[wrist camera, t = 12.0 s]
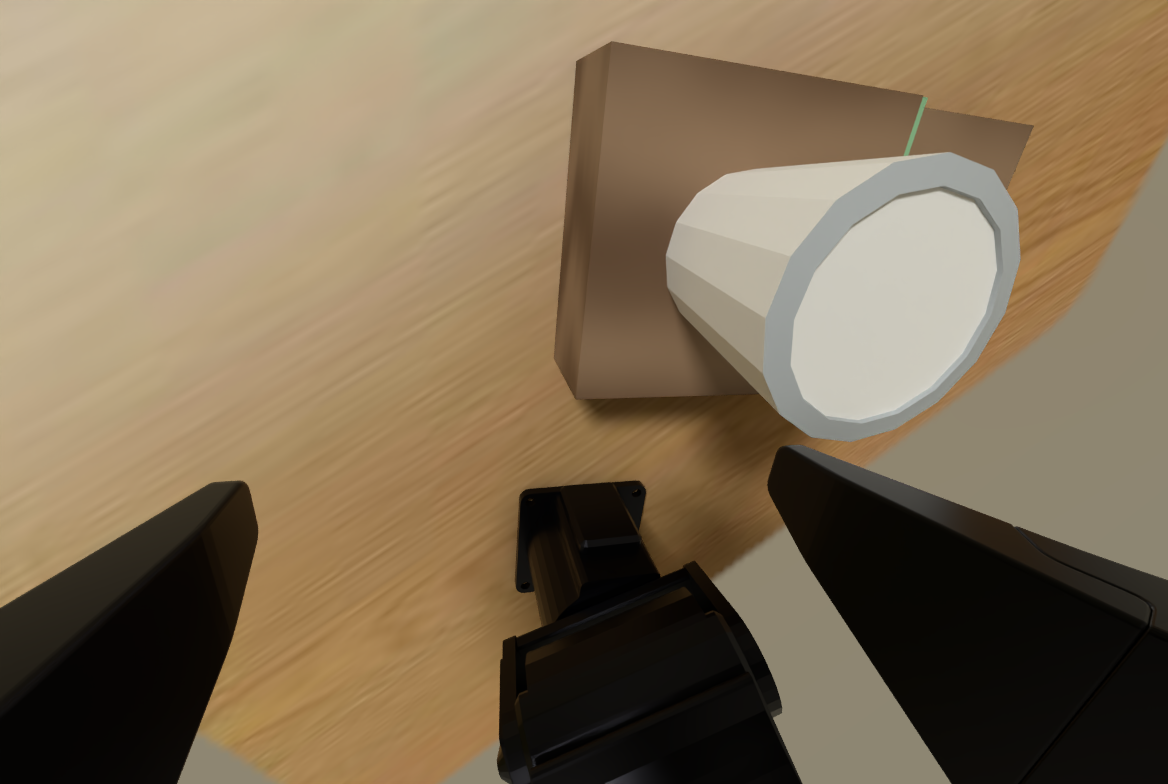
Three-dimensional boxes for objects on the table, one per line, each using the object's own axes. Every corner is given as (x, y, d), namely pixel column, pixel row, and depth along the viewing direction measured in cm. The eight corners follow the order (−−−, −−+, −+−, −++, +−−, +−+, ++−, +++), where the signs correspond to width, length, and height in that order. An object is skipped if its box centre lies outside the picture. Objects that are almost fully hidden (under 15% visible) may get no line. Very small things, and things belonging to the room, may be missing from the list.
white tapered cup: (714, 104, 15) (899, 81, 9) (860, 205, 18) (1077, 238, 12) (613, 309, 17) (709, 400, 11) (758, 370, 20) (898, 470, 14)
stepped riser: (904, 356, 27) (972, 387, 24) (553, 358, 22) (575, 399, 18) (994, 127, 22) (1095, 125, 19) (576, 61, 17) (611, 41, 14)
